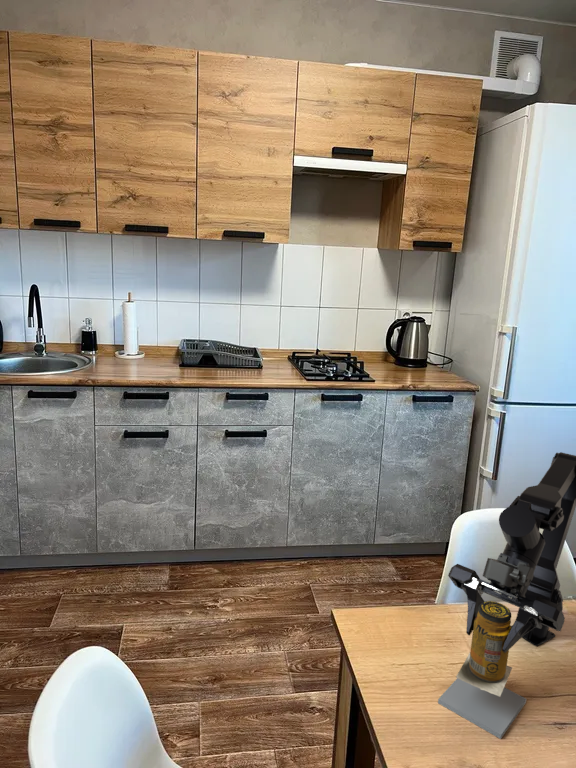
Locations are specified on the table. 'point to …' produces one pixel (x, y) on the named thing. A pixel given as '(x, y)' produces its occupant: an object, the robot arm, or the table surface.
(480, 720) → the coaster board
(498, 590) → the robot arm
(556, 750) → the table surface
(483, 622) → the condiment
